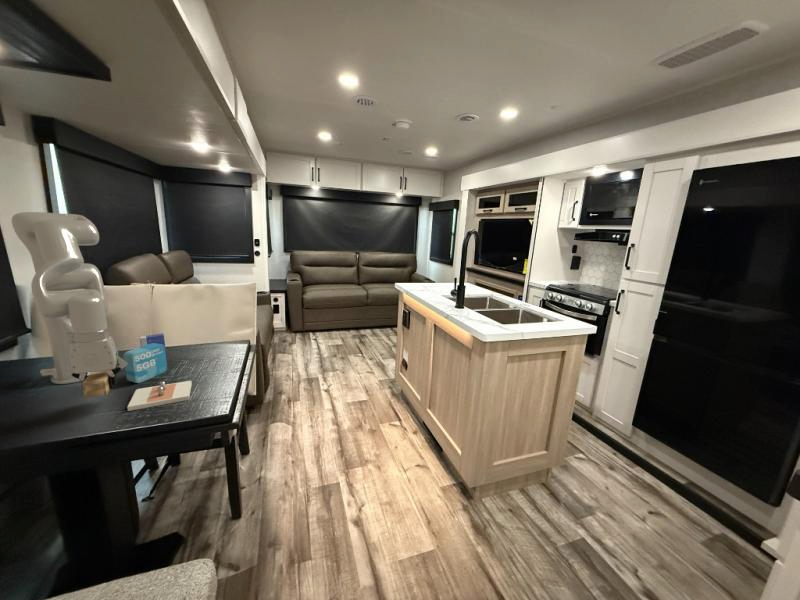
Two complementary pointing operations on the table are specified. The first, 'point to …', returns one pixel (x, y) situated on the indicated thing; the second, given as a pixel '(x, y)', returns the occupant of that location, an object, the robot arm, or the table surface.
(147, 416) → the table surface
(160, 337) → the walkman
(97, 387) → the tan cardboard box
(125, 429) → the table surface
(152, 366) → the data package
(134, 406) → the plate
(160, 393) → the pins
